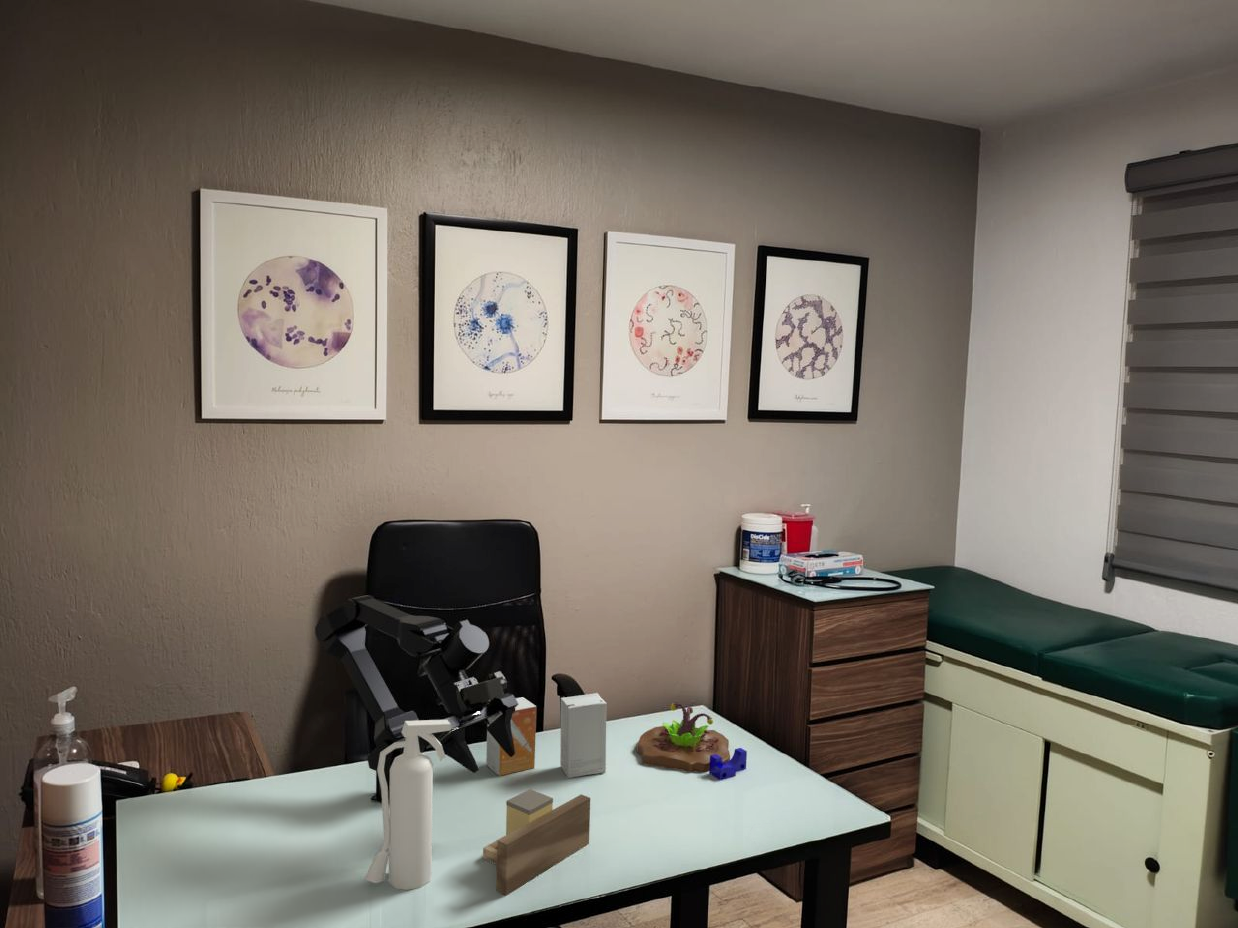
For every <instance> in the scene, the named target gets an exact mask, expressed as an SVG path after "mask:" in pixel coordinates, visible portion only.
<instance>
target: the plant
mask: <svg viewBox="0 0 1238 928" xmlns="http://www.w3.org/2000/svg"><path fill="white" fill-rule="evenodd" d="M679 707H680V708H681V710H682V719H681V721H680V723H679V722H678V721H677V720H672V723H671V724H670V723H667V722H666V723H665V722H662V725H660V726H655V727H652V728H650V729H648V730H647V731H645V732H644V733H642V734H641V735H640V736H639V740H638V741H637V748H636V749H637V750H636V751H637V754H638V755H639V756H640V757H641V758H642V764H644V765H647V766H650V767H661V768H665V769H669V770H670V769H671V770H681V771H685V772H687V773H695V772H696V773H697V772H699V773H709V768H710V755H713V754H717V755H719V756H720V757H722V761H723V764H724V763H727V762H729V761H730V760H731V753H730V749H729V747H730V746H729V745H730V744H729V739H728V738H727V737H726V736H725V735H724V734H722V733H720V732H718V731H716V729H709V725H711V726H712V724H713V723H714V719H713V718H712V717H711V716H710V715H708V714H707V713H697V714H696V715H694V716H693V717H692V718H691V714H692V713H694V709H693V707H691V706H688V707H687V708H685V705H684V704H682V703H680V702H672V703H671V704H670V707H669V708H670V711H676V710H677V709H678V708H679ZM701 717H706V722H707V724H706V725H702V726H700V727H696V726H697V725H696V722H697V721H698V719H699V718H701Z"/></svg>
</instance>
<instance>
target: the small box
mask: <svg viewBox="0 0 1238 928" xmlns="http://www.w3.org/2000/svg"><path fill="white" fill-rule="evenodd" d="M515 699H516V700H517V702H518V705H517V706H516V707H515V712H514V713H513V714H512V718H511V732H512V737H513V743H514V749H515V755H514V756H513V757H510V756H509V755H508V754H507V753H506V752H505V751H504V750H503V749H502V747H501V746H500V745H499V744H498V743H497V741H496V740H495V739H494V738H493V736H492V735H491V734H490V733H489V732H488V730H487V729H486V766H487V767H488V768H490V769H491V770H492V772H494V774H496V775H498V777H500V776H505V775H508V774H512V773H517V772H522V771H526V770H531V769H534V768H535V765H536V763H535V761H536V759H535V758H536V732H537V731H536V729H537V705H535V704H534V703H532V702H531V701H529V700H528V699H526V698H525V697H523V696H522V697H515ZM489 703H490V702H488V703H487V704H489ZM486 725H487V726H486V728H487V727H488V726H489V725H488V724H486Z"/></svg>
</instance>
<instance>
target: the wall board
mask: <svg viewBox="0 0 1238 928" xmlns="http://www.w3.org/2000/svg"><path fill="white" fill-rule="evenodd" d="M590 818H591V797H589V796H587V795H584V794H581V793H580V794H579V795H578V796H577V795H576V796H575V797H574V798H572V799H569V801H566V802H565V803H563V804H561V805H559V806H558V807H556V808H553V809H552V811H550V812H548V813H546V814H544V815H543V816H541V817H539V818H537V819H535V820H534V821H532V822H530V823H528V824H526V825H524V826H523V827H521V828H519V829H517V830H515V831H514V832H512V833H510V834H508V835H506V834H505V835H503V836H502V837H500V838H498V839H497V840H495V841H493V842H491V843H488V844H487V845H485V846H483V847H482V859H483V858H484V859H483V860H485V859H486V861H487V860H488V861H487V862H490V861H491V862H490V863H492V862H493V863H492V864H494V863H495V864H494V865H496V864H497V865H496V885H495V886H496V887H495V889H496V890H495V891H496V892H497V893H499V894H502V895H503V896H508V895H509V894H511V893H512V892H514V891H517V890H518V889H519V888H521V887H522V886H524V885H526V884H527V883H528V882H530V881H532V880H533V879H535V878H536V876H537V877H538V876H540V875H542V874H543V873H544V871H545V872H546V871H548V870H549V869H551V868H552V867H554V866H556V865H557V864H559V863H560V862H562V861H564V860H565V859H567V858H568V857H570V856H572V855H573V854H575V853H576V852H578V851H580V850H581V849H582V848H584V847H586V846H587V845H588V844H590V822H591V820H590ZM569 855H570V856H569ZM539 874H540V875H539Z"/></svg>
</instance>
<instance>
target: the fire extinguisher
mask: <svg viewBox="0 0 1238 928" xmlns="http://www.w3.org/2000/svg"><path fill="white" fill-rule="evenodd" d="M449 730H451V724H450V723H449V721H448V720H435V719H429V720H428V719H427V720H424V719H423V720H422V719H421V720H420V719H419V721H405V723H404V726H403V729H402V732H401V733H402V734H403V736H404V737H406V740H405V741H401V742H395V743H393V744H392V745H390V746H389V747H387V748H386V749H384V750H383V751H382V752H380V757H379V763H378V768H377V772H378V776H379V781H380V786H381V793H382V802H381V808H382V822H383V823H382V825H383V841H382V844H381V847H380V851H378V852H376V854H375V855H374V858H373V860H372V862H371V864H370V865H369V867H368V870H367V871H366V873H365V876H364V880H365V881H369V882H371V883H374V884H379V883H381V882H384V881H385V877H386V873H387V872H386V871H387V866H388V883H389V884H390V885H391V886H392V887H393V888H394V889H400V890H404V891H405V890H406V891H409V890H414V889H415V890H416V889H419V888H422V887H423V886H426V884H428V883H430V882H431V877H432V866H433V865H432V863H433V862H432V861H433V860H432V855H433V854H432V853H433V851H432V850H433V848H432V847H433V793H434V791H433V785H434V784H433V783H434V773H433V772H434V763H433V761H432V759H431V757H430V756H429V755H428V754H426V753H424V752H423V753H420V749H419V742H418V735H419V736H420V737H422V738H423V739H425V740H427V741H428V742H429V743H430V744H431V745H432V748H435V749H436V751H435V752H436V755H437V757H438V760H439V761H440V762H441V761H442V760H443V759H445V758H446V754H444V751H443V747H442V745H441V743H440V742H439V741H438V740H437V739H436V738H435V736H434V735H432V734H431V733H436V732H443V731H449ZM402 747H404V752H403V754H402V755H399V756H397V757H395V759H394V761H393V763H392V766H391V768H390V803H389V804H388V786H387V782H386V778H385V774H384V764H385V757H386V755H387V754H388V753H390V752H391V751H393V750H394V749H396V748H402ZM387 850H388V851H387Z"/></svg>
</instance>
